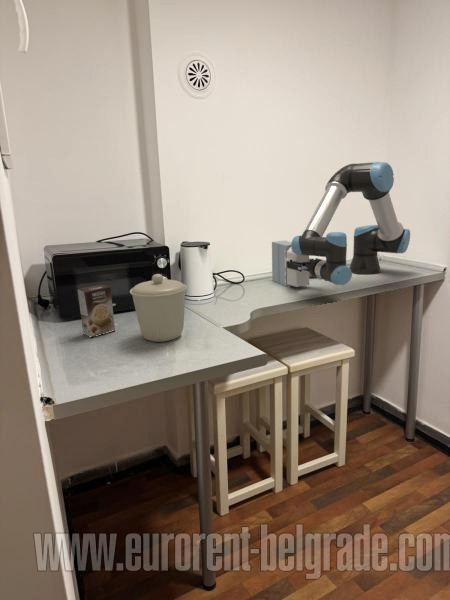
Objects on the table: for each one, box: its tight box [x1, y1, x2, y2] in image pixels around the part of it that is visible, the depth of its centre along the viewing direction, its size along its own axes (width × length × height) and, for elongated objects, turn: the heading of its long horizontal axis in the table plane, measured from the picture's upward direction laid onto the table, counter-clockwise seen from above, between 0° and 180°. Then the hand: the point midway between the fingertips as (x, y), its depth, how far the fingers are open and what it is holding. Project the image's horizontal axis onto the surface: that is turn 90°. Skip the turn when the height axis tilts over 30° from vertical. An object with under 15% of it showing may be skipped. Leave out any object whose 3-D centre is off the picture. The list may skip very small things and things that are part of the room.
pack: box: [271, 240, 293, 288], centre depth 203 cm, size 7×14×19 cm, turn 21°
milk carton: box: [287, 247, 310, 288], centre depth 192 cm, size 7×7×19 cm
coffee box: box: [77, 284, 116, 337], centre depth 146 cm, size 9×6×16 cm
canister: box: [129, 273, 188, 343], centre depth 139 cm, size 18×18×21 cm
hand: (293, 260), depth 195 cm, fingers closed on milk carton, 8 cm apart
